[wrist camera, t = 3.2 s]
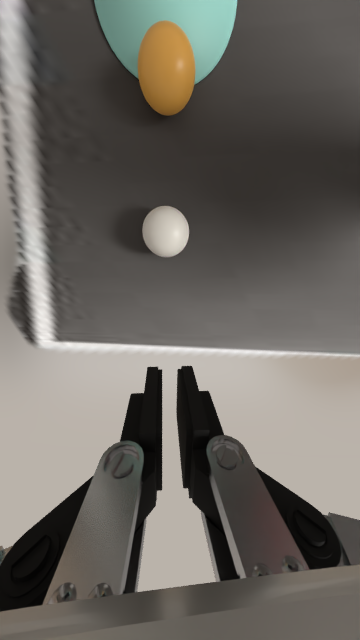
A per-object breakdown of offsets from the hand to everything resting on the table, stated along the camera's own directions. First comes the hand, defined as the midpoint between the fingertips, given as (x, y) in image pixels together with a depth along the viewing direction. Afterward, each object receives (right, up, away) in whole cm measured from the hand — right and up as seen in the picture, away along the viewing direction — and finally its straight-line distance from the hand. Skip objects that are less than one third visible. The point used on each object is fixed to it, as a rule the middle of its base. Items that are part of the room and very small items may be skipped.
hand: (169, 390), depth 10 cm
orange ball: (-1, +27, +8) cm, 29 cm away
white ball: (-1, +14, +13) cm, 19 cm away
